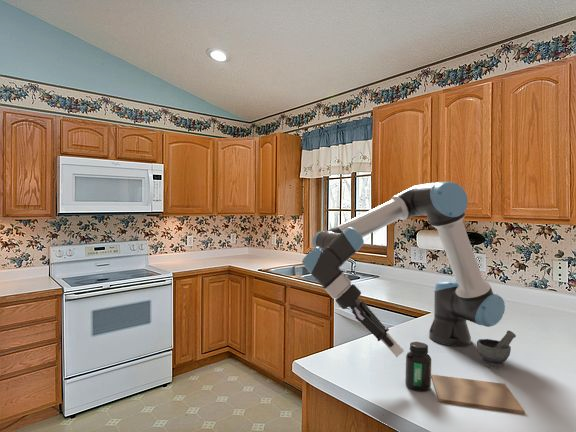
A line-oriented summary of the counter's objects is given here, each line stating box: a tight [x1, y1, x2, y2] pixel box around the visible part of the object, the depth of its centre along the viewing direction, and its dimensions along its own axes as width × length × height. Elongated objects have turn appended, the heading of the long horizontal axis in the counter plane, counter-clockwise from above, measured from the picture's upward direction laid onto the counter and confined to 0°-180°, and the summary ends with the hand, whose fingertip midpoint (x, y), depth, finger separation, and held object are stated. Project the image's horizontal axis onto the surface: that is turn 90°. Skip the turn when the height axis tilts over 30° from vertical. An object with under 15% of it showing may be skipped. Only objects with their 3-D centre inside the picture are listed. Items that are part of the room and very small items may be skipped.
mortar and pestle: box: [476, 330, 517, 370], centre depth 120 cm, size 11×9×12 cm
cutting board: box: [431, 374, 526, 415], centre depth 100 cm, size 20×15×1 cm
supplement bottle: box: [404, 341, 432, 392], centre depth 104 cm, size 7×7×12 cm
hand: (400, 353), depth 105 cm, fingers closed
